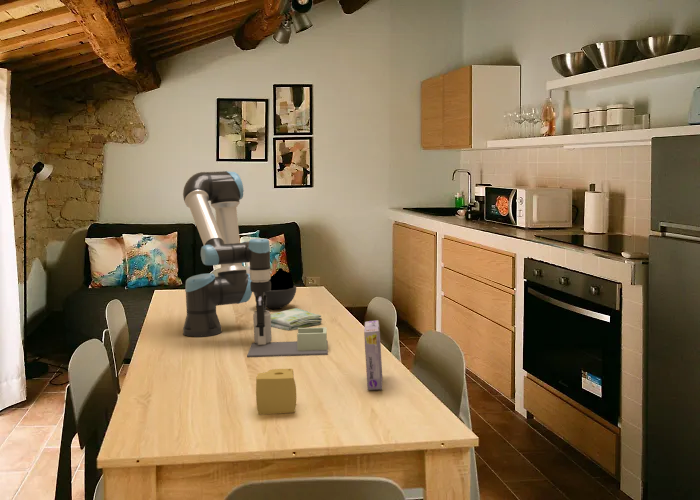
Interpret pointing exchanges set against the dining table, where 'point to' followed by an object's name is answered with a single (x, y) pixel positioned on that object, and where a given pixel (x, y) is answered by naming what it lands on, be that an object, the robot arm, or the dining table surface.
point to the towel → (294, 319)
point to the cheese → (276, 392)
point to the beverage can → (267, 327)
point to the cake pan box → (373, 355)
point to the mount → (295, 345)
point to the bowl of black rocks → (280, 290)
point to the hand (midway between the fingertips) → (262, 342)
